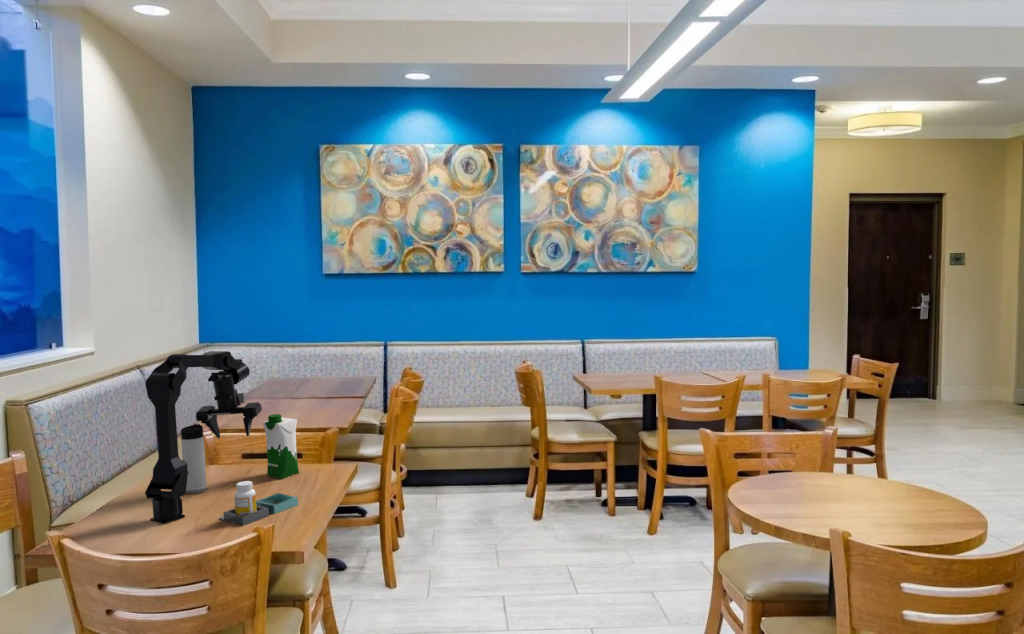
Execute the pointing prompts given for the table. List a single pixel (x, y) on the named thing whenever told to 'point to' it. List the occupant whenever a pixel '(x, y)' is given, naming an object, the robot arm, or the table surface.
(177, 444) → the robot arm
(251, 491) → the supplement bottle
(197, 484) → the travel mug
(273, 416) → the milk carton
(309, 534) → the table surface
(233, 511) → the grey and teal tray
